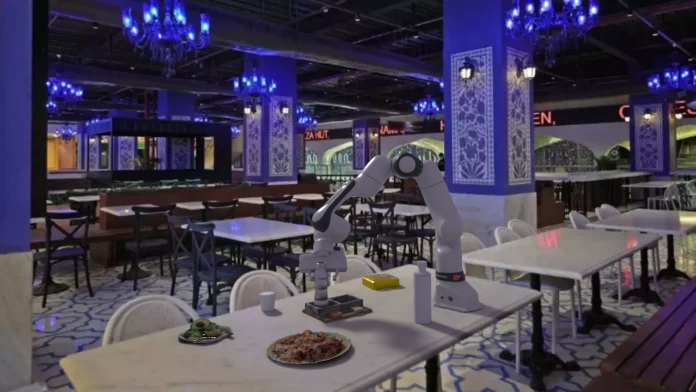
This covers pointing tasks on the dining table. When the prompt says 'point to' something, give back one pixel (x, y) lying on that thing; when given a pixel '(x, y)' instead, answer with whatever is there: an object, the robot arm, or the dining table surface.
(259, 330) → the dining table surface
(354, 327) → the dining table surface
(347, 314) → the socket board
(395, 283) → the element tile
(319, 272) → the plastic bottle
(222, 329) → the salad plate
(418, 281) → the white bottle
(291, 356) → the rice dish
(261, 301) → the white cup
